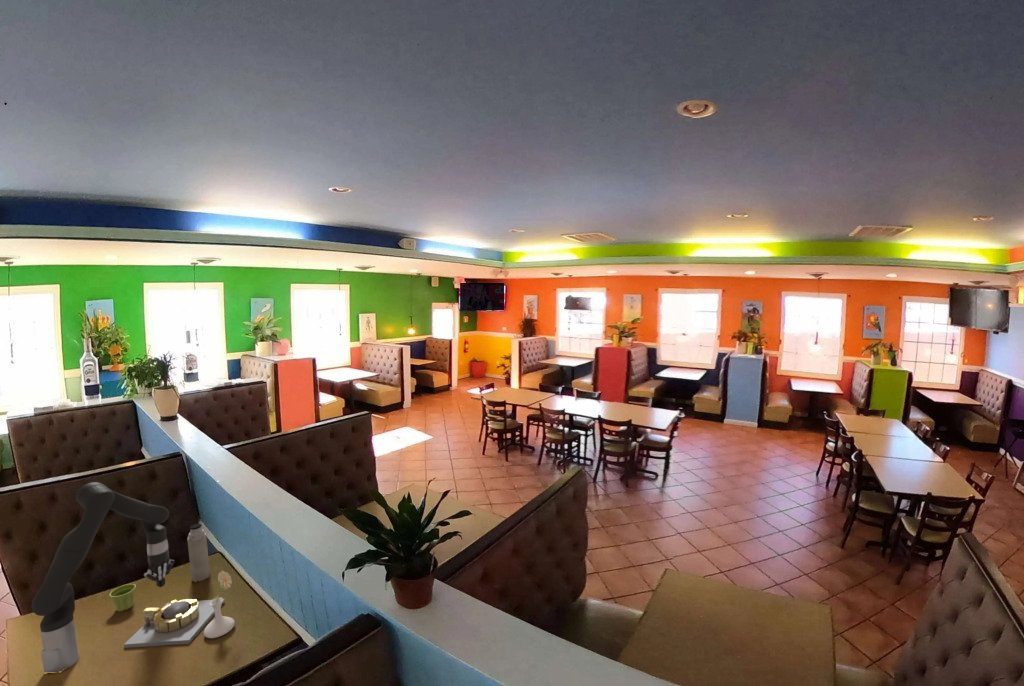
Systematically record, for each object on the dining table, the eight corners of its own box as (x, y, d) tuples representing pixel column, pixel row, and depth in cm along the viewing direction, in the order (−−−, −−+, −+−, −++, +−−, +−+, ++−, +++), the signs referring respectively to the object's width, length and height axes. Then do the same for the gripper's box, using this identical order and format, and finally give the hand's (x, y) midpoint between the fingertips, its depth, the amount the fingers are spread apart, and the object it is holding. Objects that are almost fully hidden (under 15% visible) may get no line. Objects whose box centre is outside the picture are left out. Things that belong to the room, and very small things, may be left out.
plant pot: (123, 615, 210) (121, 597, 209) (106, 613, 212) (104, 595, 211) (143, 601, 219) (141, 584, 218) (126, 600, 221) (124, 583, 220)
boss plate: (189, 643, 191) (187, 626, 190) (123, 648, 190) (121, 631, 189) (224, 602, 217) (223, 587, 216) (166, 605, 215) (165, 590, 215)
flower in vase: (220, 642, 191) (214, 586, 188) (197, 639, 193) (191, 583, 191) (244, 621, 204) (239, 567, 201) (222, 618, 206) (217, 565, 203)
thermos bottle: (199, 572, 242) (194, 521, 239) (213, 572, 241) (208, 521, 238) (187, 581, 234) (182, 529, 231) (202, 582, 233) (196, 529, 230)
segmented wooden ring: (206, 606, 211) (205, 596, 210) (181, 631, 195) (180, 620, 194) (160, 607, 211) (158, 597, 210) (131, 632, 195) (130, 621, 195)
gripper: (167, 541, 214) (170, 576, 216) (136, 556, 202) (139, 593, 203) (178, 543, 212) (181, 579, 214) (148, 559, 199) (151, 596, 201)
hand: (161, 586), depth 209 cm, fingers closed
